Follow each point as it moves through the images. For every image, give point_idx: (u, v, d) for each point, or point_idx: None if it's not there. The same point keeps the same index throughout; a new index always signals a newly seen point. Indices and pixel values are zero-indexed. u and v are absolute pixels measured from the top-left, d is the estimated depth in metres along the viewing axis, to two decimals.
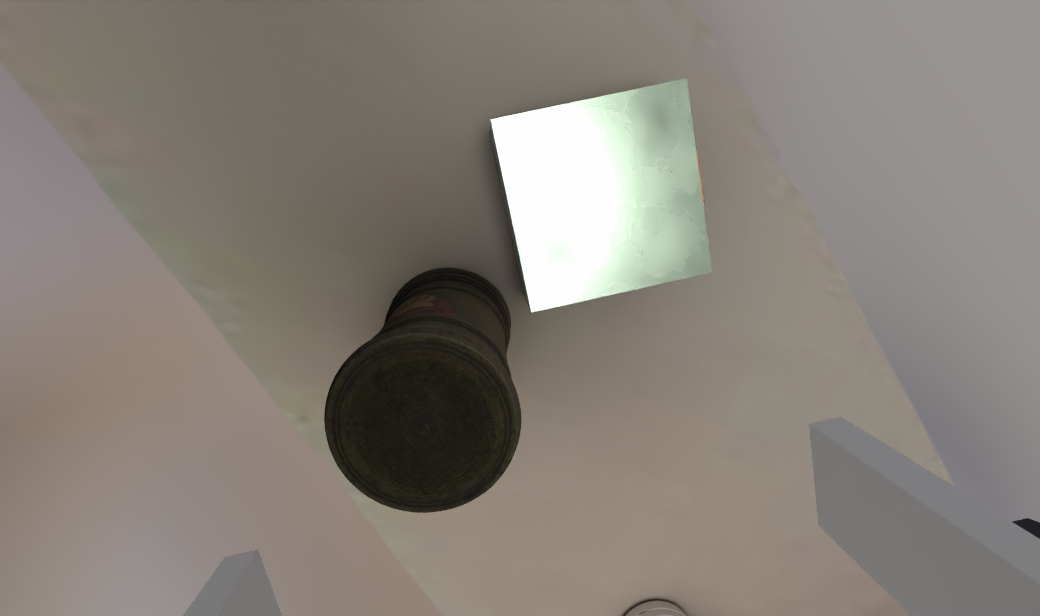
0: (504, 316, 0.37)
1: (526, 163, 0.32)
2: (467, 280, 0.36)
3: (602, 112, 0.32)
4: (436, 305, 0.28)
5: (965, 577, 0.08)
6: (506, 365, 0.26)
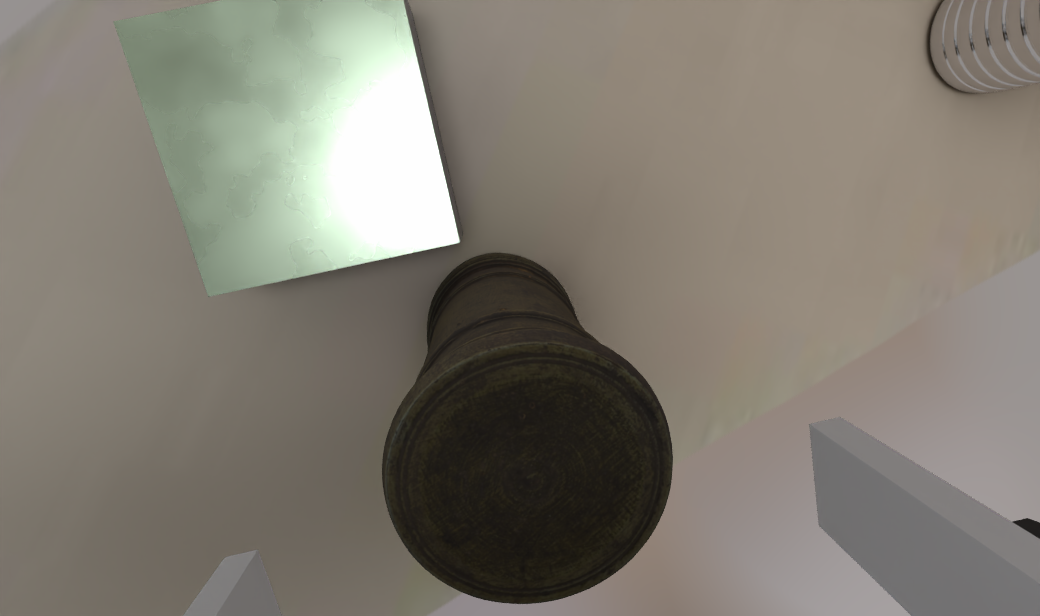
0: (480, 266, 0.29)
1: (258, 251, 0.24)
2: (433, 313, 0.29)
3: (179, 147, 0.23)
4: None
5: (965, 577, 0.08)
6: (482, 319, 0.18)
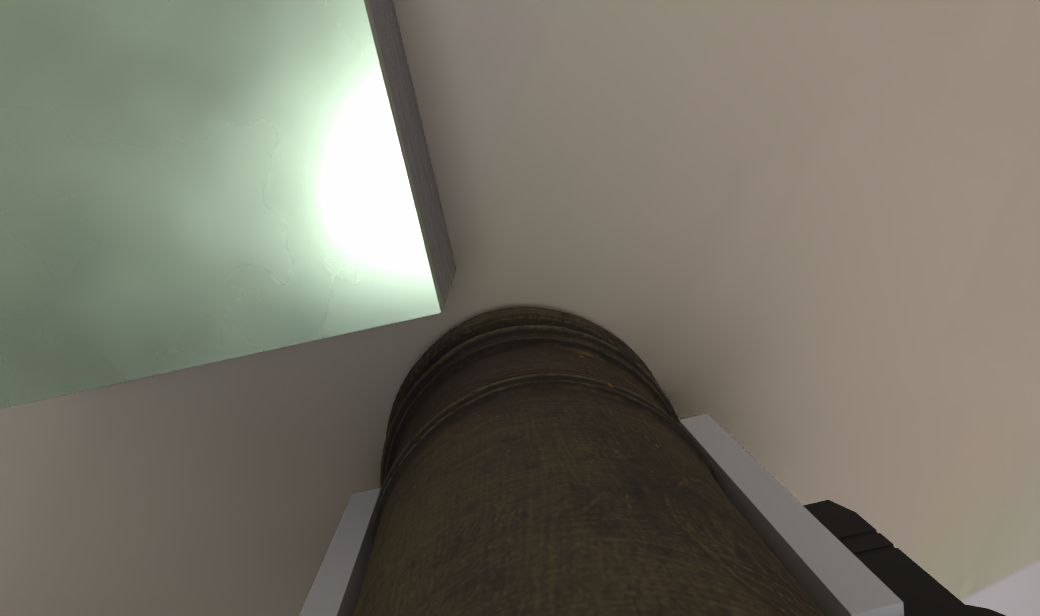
0: (490, 344, 0.13)
1: None
2: (392, 441, 0.14)
3: None
4: None
5: None
6: None
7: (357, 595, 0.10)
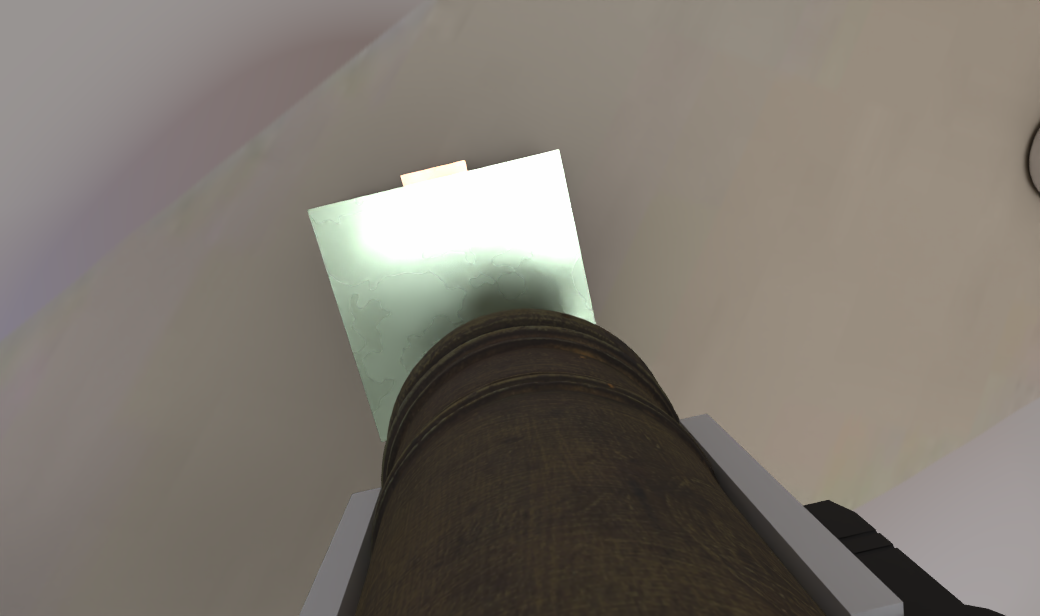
0: (491, 344, 0.13)
1: None
2: (393, 441, 0.14)
3: (360, 314, 0.26)
4: None
5: None
6: None
7: (357, 595, 0.10)
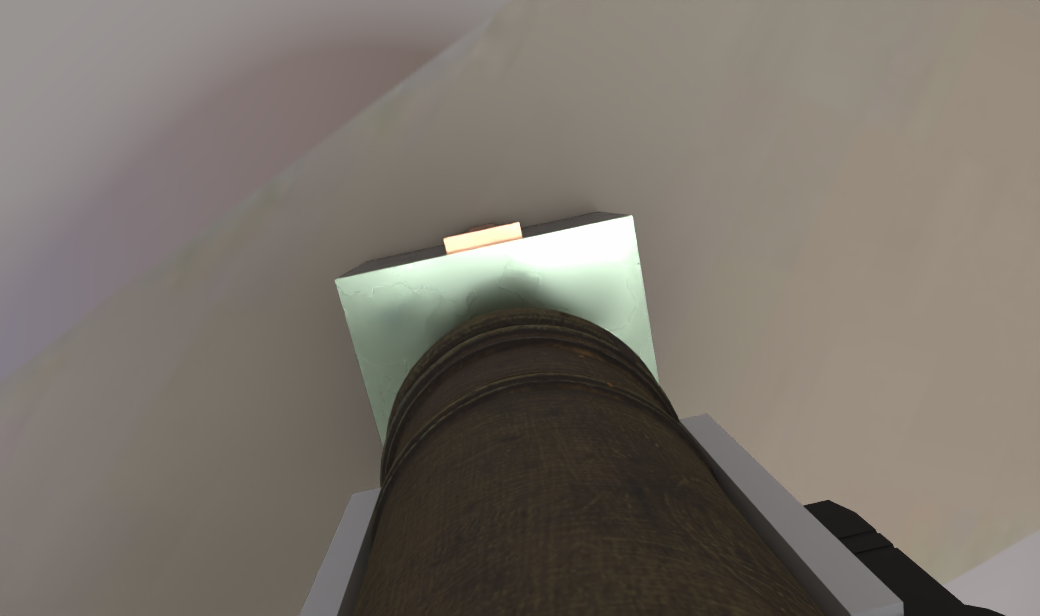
0: (490, 343, 0.13)
1: None
2: (392, 440, 0.14)
3: (392, 400, 0.22)
4: None
5: None
6: None
7: (357, 595, 0.10)
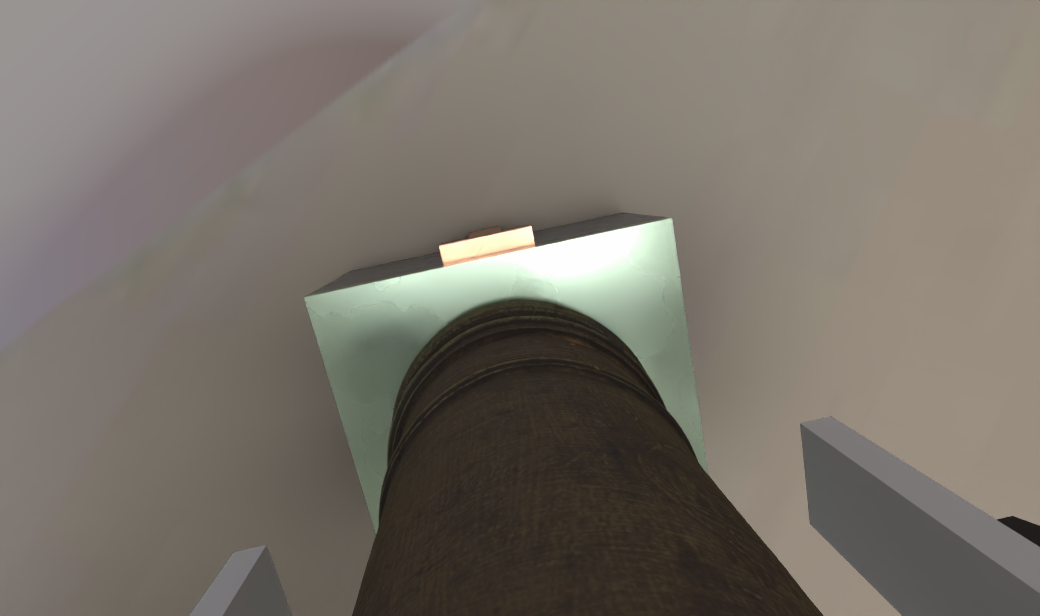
0: (488, 333, 0.14)
1: None
2: (398, 423, 0.15)
3: (376, 443, 0.18)
4: None
5: (950, 574, 0.09)
6: None
7: None
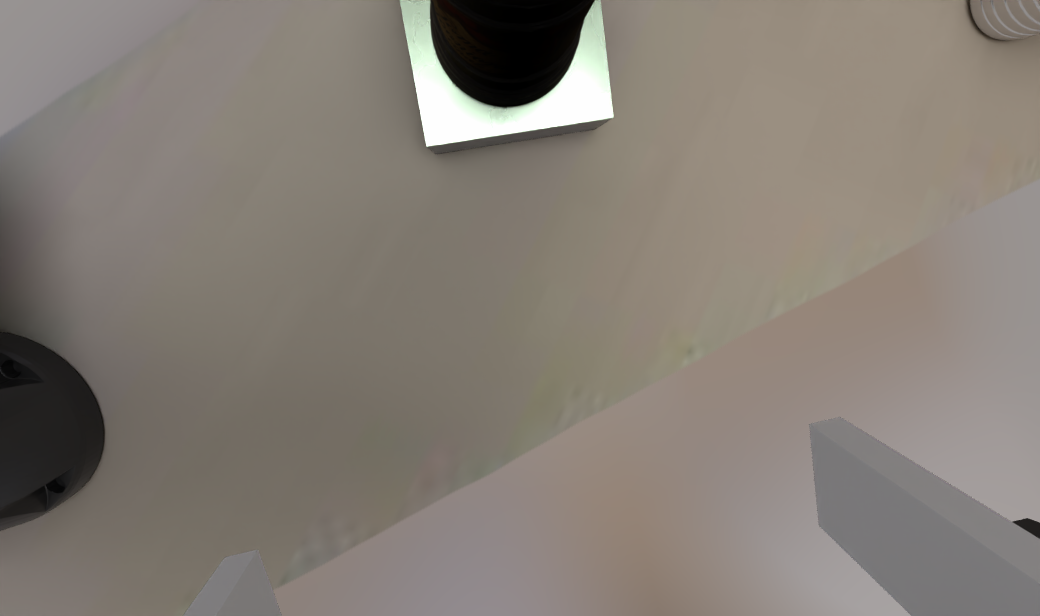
0: None
1: (467, 113, 0.33)
2: None
3: (420, 30, 0.32)
4: None
5: (965, 577, 0.08)
6: None
7: None
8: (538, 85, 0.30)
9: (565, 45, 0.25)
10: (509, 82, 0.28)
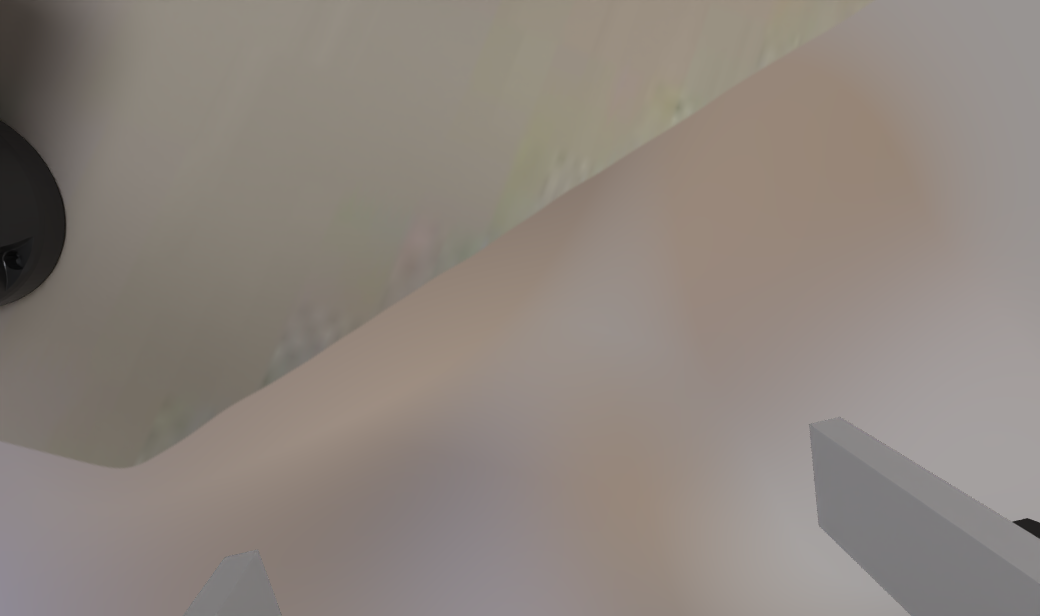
0: None
1: None
2: None
3: None
4: None
5: (965, 577, 0.08)
6: None
7: None
8: None
9: None
10: None
